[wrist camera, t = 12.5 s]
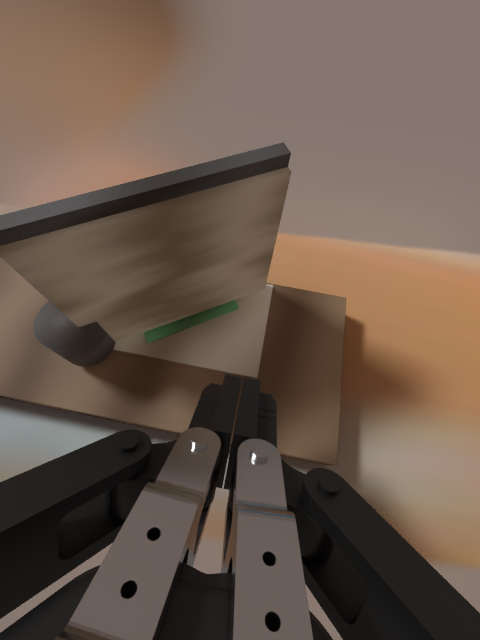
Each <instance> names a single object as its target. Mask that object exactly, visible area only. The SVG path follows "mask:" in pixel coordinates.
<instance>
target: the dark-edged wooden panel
mask: <svg viewBox="0 0 480 640" xmlns="http://www.w3.org/2000/svg"><path fill="white" fill-rule="evenodd" d="M290 154H291V153H290V151H289V150H288V148H287V147H286V145H285V144H284V143H280V144H276V145H272V146H268V147H264V148H260V149H256V150H252V151H248V152H245V153H241V154H237V155H233V156H229V157H225V158H222V159H218V160H214V161H210V162H206V163H202V164H198V165H194V166H190V167H187V168H182V169H179V170H175V171H171V172H167V173H164V174H159V175H155V176H151V177H148V178H144V179H140V180H136V181H132V182H128V183H124V184H120V185H117V186H113V187H109V188H105V189H101V190H97V191H93V192H89V193H85V194H82V195H78V196H74V197H70V198H66V199H63V200H58V201H54V202H51V203H47V204H43V205H39V206H35V207H31V208H27V209H23V210H19V211H16V212H12V213H8V214H4V215H0V257H1V258H2V259H3V260H4V261H5V262H7V263H8V264H9V265H10V266H11V267H12V268H13V269H14V270H15V271H16V272H18V273H19V274H20V275H21V276H22V277H23V278H24V279H25V280H26V281H28V282H29V283H30V284H31V285H32V286H33V287H34V288H35V289H36V290H37V291H39V292H40V293H41V294H42V295H43V296H44V297H45V298H46V299H47V300H49V302H47V303H46V304H45V305H44V306H43V307H42V308H41V309H40V311H39V312H38V314H37V316H36V318H35V321H34V333H35V336H36V338H37V339H38V341H39V342H40V343H41V344H43V345H44V346H46V347H47V348H49V349H50V350H52V351H53V352H55V353H57V354H58V355H60V356H61V357H63V358H64V359H66V360H68V361H69V362H71V363H72V364H74V365H77V366H83V367H87V366H93V365H96V364H98V363H100V362H102V361H103V360H105V359H106V358H107V357H108V356H109V355H110V354H111V352H112V351H113V349H114V346H115V343H116V342H118V341H120V340H123V339H126V338H129V337H132V336H135V335H137V334H140V333H143V332H146V331H149V330H151V329H154V328H157V327H160V326H163V325H166V324H168V323H171V322H174V321H177V320H180V319H182V318H185V317H188V316H191V315H194V314H197V313H199V312H202V311H205V310H208V309H211V308H213V307H216V306H219V305H222V304H225V303H228V302H230V301H233V300H236V299H239V298H242V297H244V296H247V295H250V294H253V293H256V292H259V291H261V290H264V289H265V286H266V281H267V277H268V272H269V268H270V264H271V259H272V255H273V250H274V246H275V242H276V237H277V233H278V228H279V224H280V219H281V215H282V211H283V206H284V201H285V198H286V193H287V189H288V184H289V179H290V176H291V171H290V169H289V168H288V163H289V159H290Z"/></svg>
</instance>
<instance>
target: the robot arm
mask: <svg viewBox="0 0 480 640" xmlns="http://www.w3.org/2000/svg"><path fill="white" fill-rule="evenodd" d="M241 382H242V377H241V376H236V375H230V374H225V377H224V381H223V384H222V385H219V384H214V383H210V384H209V385H208V386H206V387H205V388H204V389H203V391H202V394H201V396H200V399H199V401H198V405H197V407H196V409H195V412H194V414H193V417H192V420H191V422H190V425H189V427H188V429H187V430H185V431H184V432H182V433H181V434H180V436H179V437H178V439H177V440H175V441H172V442H168V443H157V444H151V440H150V438H149V437H148V436H147V435H146V434H145V433H143V432H141V431H137V430H124V431H120V432H117V433H115V434H113V435H110V436H108V437H106V438H103V439H101V440H99V441H96V442H94V443H92V444H89V445H87V446H85V447H82V448H80V449H78V450H75V451H73V452H70V453H68V454H66V455H63V456H61V457H59V458H56V459H54V460H52V461H49V462H47V463H45V464H42V465H40V466H38V467H35V468H33V469H31V470H28V471H26V472H24V473H21V474H19V475H17V476H14V477H12V478H10V479H7V480H5V481H3V482H0V619H1V618H2V617H4V616H5V615H7V614H8V613H10V612H11V611H13V610H14V609H16V608H17V607H19V606H20V605H21V604H23V603H24V602H26V601H27V600H29V599H30V598H32V597H33V596H35V595H36V594H38V593H39V592H40V591H42V590H44V589H45V588H46V587H48V586H49V585H51V584H52V583H54V582H55V581H57V580H58V579H60V578H61V577H63V576H64V575H66V574H67V573H69V572H70V571H72V570H73V569H75V568H76V567H77V566H79V565H80V564H82V563H83V562H85V561H86V560H88V559H89V558H91V557H92V556H94V555H95V554H97V553H98V552H99V551H101V550H102V549H104V548H105V547H107V546H108V545H110V544H111V543H113V544H112V546H111V547H110V550H109V551H108V553H107V555H106V556H105V558H104V560H103V562H102V564H101V565H99V566H97V567H94V568H92V569H90V570H88V571H86V572H84V573H83V574H81V575H79V576H77V577H76V578H74V579H73V580H72V581H70V582H69V583H67V584H66V585H65V586H63V587H62V588H61V589H59V590H58V591H57V592H55V593H54V594H53V595H51V596H50V597H49V598H47V599H46V600H45V601H43V602H42V603H40V604H39V605H38V606H36V607H35V608H34V609H33V610H31V611H29V612H28V613H27V614H25V615H24V616H23V617H21V618H20V619H19V620H17V621H16V622H15V623H13V624H12V625H11V626H9V627H8V628H6V629H5V630H4V631H3V632H1V633H0V640H333V639H332V638H331V636H330V635H329V633H328V632H327V631H326V629H325V628H324V627H323V625H322V624H321V623H320V622H319V620H318V619H317V618H316V617H315V616H314V615H313V614H312V613H311V612H310V611H309V608H308V601H307V594H306V587H305V584H306V585H307V587H308V588H309V589H310V591H311V593H312V594H313V596H314V597H315V598H316V600H317V601H318V603H319V604H320V606H321V607H322V609H323V610H324V612H325V613H326V615H327V616H328V618H329V619H330V621H331V622H332V624H333V625H334V627H335V628H336V630H337V631H338V632H339V634H340V636H341V637H342V638H343V640H480V613H479V612H478V611H477V610H476V609H475V608H474V607H473V606H472V605H471V604H470V603H469V602H468V601H467V600H466V599H465V598H464V597H463V596H462V595H461V594H460V593H458V592H457V591H456V590H455V589H454V588H453V587H452V586H451V585H450V584H449V583H448V582H447V581H446V580H445V579H444V578H443V577H442V576H441V575H440V574H439V573H438V572H437V571H436V570H435V569H434V568H433V567H432V566H431V565H430V564H429V563H428V562H427V561H426V560H425V559H424V558H423V557H422V556H421V555H420V554H419V553H418V552H417V551H416V550H415V549H414V548H413V547H412V546H411V545H410V544H409V543H408V542H407V541H406V540H405V539H404V538H403V537H402V536H401V535H400V534H399V533H398V532H397V531H396V530H395V529H394V528H393V527H392V526H391V525H389V524H388V523H387V522H386V521H385V520H384V519H383V518H382V517H381V516H380V515H379V514H378V513H377V512H376V511H375V510H374V509H373V508H372V507H371V506H370V505H369V504H368V503H367V502H366V501H365V500H364V499H363V498H362V497H361V496H360V495H359V494H358V493H357V492H356V491H355V490H354V489H353V488H352V487H351V486H350V485H349V484H348V483H347V482H346V481H345V480H344V479H343V478H342V477H340V476H339V475H338V474H336V473H334V472H332V471H330V470H327V469H322V468H316V469H312V470H310V471H309V472H308V473H307V474H303V473H301V472H299V471H297V470H295V469H293V468H291V467H290V466H289V465H287V464H286V463H285V462H284V461H283V460H282V459H281V456H280V453H279V451H278V450H277V421H276V419H277V413H276V412H277V407H276V401H275V400H274V398H273V396H272V395H271V394H266V393H261V392H260V385H261V380H257V379H252V378H246V377H244V379H243V385H242V390H241V396H240V401H239V406H238V412H237V417H236V423H235V428H234V434H233V440H232V445H231V451H230V457H229V462H228V468H227V474H226V479H225V485H224V489H229V490H230V491H229V497H228V503H227V508H226V514H225V528H224V541H223V555H222V568H221V573H219V574H205V573H202V572H200V571H198V570H197V569H195V568H193V564H194V561H195V558H196V554H197V551H198V547H199V544H200V541H201V538H202V534H203V531H204V527H205V524H206V521H207V517H208V514H209V511H210V506H211V503H212V501H213V499H214V495H215V490H216V487H218V488H222V485H223V480H224V474H225V469H226V463H227V458H228V452H229V447H230V442H231V436H232V431H233V425H234V420H235V415H236V409H237V404H238V398H239V393H240V387H241Z"/></svg>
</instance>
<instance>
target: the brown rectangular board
mask: <svg viewBox="0 0 480 640" xmlns="http://www.w3.org/2000/svg"><path fill="white" fill-rule="evenodd" d="M47 302H49V300H47V299H46V298H45V297H44V296H43V295H42V294H41V293H40V292H39V291H37V290H36V289H35V288H34V287H33V286H32V285H31V284H30V283H29V282H28V281H26V280H25V279H24V278H23V277H22V276H21V275H20V274H19V273H18V272H16V271H15V270H14V269H13V268H12V267H11V266H10V265H9V264H8V263H7V262H5V261H4V260H3V259H2V258H1V257H0V397H3V398H8V399H13V400H17V401H22V402H27V403H32V404H37V405H41V406H46V407H51V408H56V409H61V410H66V411H70V412H75V413H80V414H85V415H90V416H94V417H99V418H104V419H109V420H114V421H119V422H123V423H128V424H133V425H138V426H143V427H147V428H152V429H157V430H162V431H167V432H171V433H176V434H181V433H182V432H184V431H185V430H187V429H188V427H189V425H190V422H191V420H192V417H193V414H194V412H195V409H196V407H197V405H198V401H199V399H200V396H201V394H202V391H203V389H204V388H205V387H206V386H208V385H209V384H210V383H214V384H219V385H222V384H223V381H224V377H225V374H230V375H236V376H241V377H242V382H241V387H240V393H239V398H238V404H237V409H236V415H235V420H234V425H233V431H232V436H231V442H230V445H232V440H233V434H234V428H235V423H236V417H237V412H238V406H239V401H240V396H241V390H242V385H243V379H244V377H246V378H252V379H257V380H261V385H260V392H261V393H266V394H271V395H272V396H273V398H274V400H275V401H276V407H277V412H276V413H277V419H276V421H277V450H278V451H279V453H280V455H282V456H287V457H292V458H297V459H301V460H306V461H311V462H316V463H321V464H325V465H337V455H338V438H339V420H340V402H341V384H342V367H343V349H344V331H345V313H346V298H345V297H339V296H334V295H328V294H323V293H318V292H312V291H307V290H301V289H296V288H291V287H285V286H280V285H275V284H269V283H266V286H265V289H264V290H261V291H259V292H256V293H253V294H250V295H247V296H244V297H242V298H239V299H236V300H233V301H230V302H228V303H225V304H222V305H219V306H216V307H213V308H211V309H208V310H205V311H202V312H199V313H197V314H194V315H191V316H188V317H185V318H182V319H180V320H177V321H174V322H171V323H168V324H166V325H163V326H160V327H157V328H154V329H151V330H149V331H146V332H143V333H140V334H137V335H135V336H132V337H129V338H126V339H123V340H120V341H118V342H116V343H115V346H114V349H113V351H112V352H111V354H110V355H109V356H108V357H107V358H106V359H105V360H103V361H102V362H100V363H98V364H96V365H93V366H87V367H83V366H77V365H74V364H72V363H71V362H69V361H68V360H66V359H64V358H63V357H61V356H60V355H58V354H57V353H55V352H53V351H52V350H50V349H49V348H47V347H46V346H44V345H43V344H41V343H40V342H39V341H38V339H37V338H36V336H35V333H34V321H35V318H36V316H37V314H38V312H39V311H40V309H41V308H42V307H43V306H44V305H45V304H46V303H47Z"/></svg>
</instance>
